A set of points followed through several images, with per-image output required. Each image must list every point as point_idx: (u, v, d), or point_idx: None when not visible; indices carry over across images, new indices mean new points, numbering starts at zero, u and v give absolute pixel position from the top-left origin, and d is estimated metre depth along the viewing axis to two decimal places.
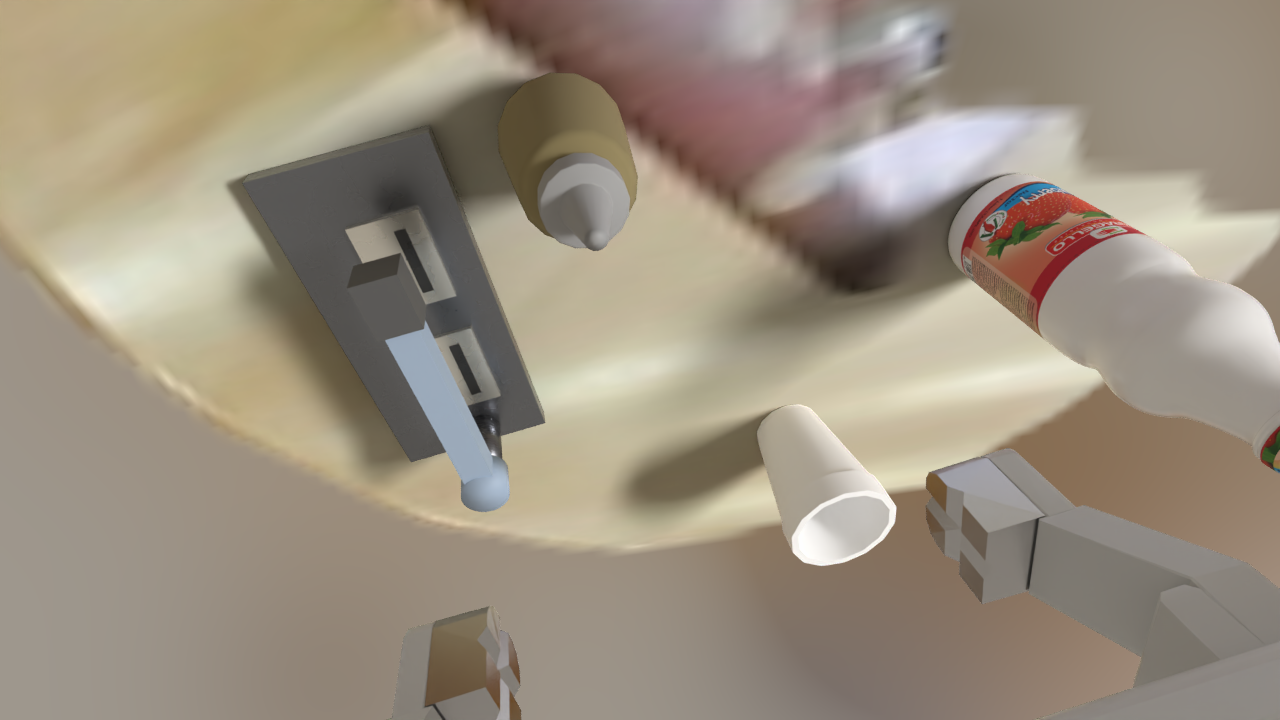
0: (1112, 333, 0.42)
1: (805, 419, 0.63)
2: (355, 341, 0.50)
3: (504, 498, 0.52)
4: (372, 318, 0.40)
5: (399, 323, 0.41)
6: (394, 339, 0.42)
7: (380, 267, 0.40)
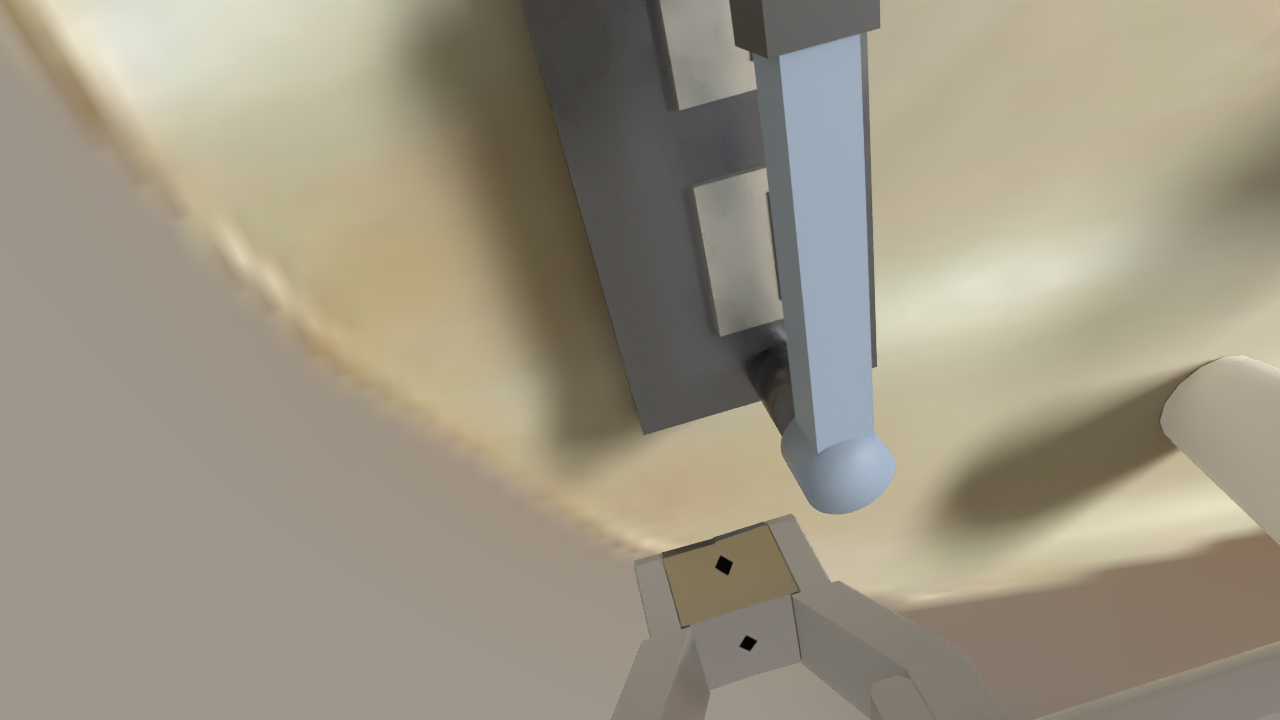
0: None
1: None
2: (601, 173, 0.26)
3: (881, 486, 0.26)
4: None
5: (833, 3, 0.17)
6: (800, 60, 0.17)
7: None
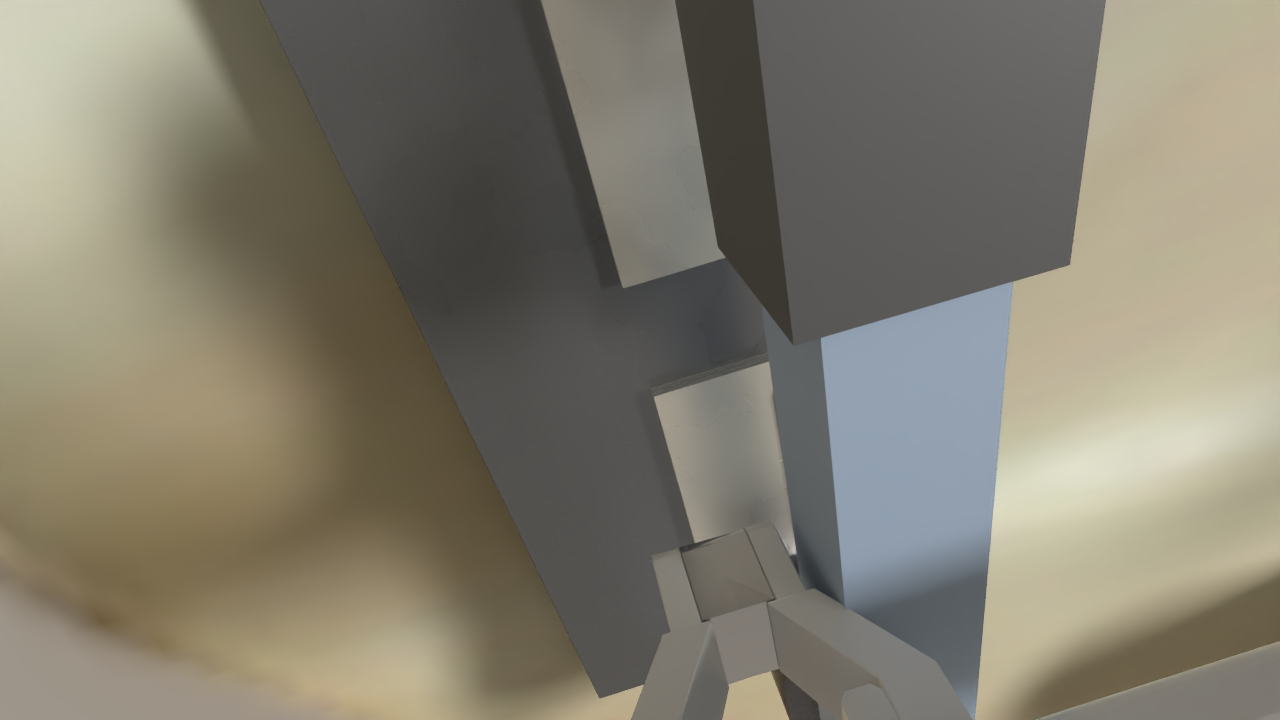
0: None
1: None
2: (499, 381, 0.16)
3: None
4: (826, 174, 0.06)
5: (963, 220, 0.06)
6: (869, 332, 0.07)
7: None
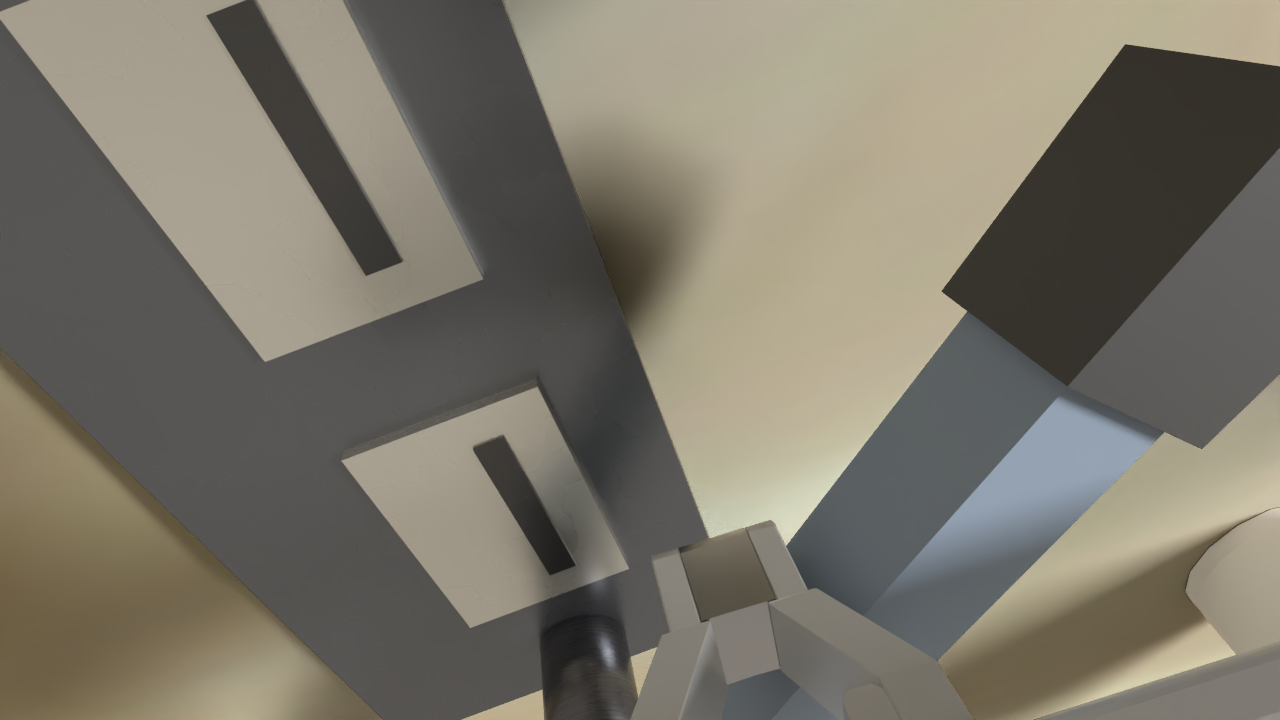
0: None
1: None
2: (176, 457, 0.16)
3: None
4: (1192, 286, 0.08)
5: (1200, 376, 0.09)
6: (1079, 413, 0.09)
7: None
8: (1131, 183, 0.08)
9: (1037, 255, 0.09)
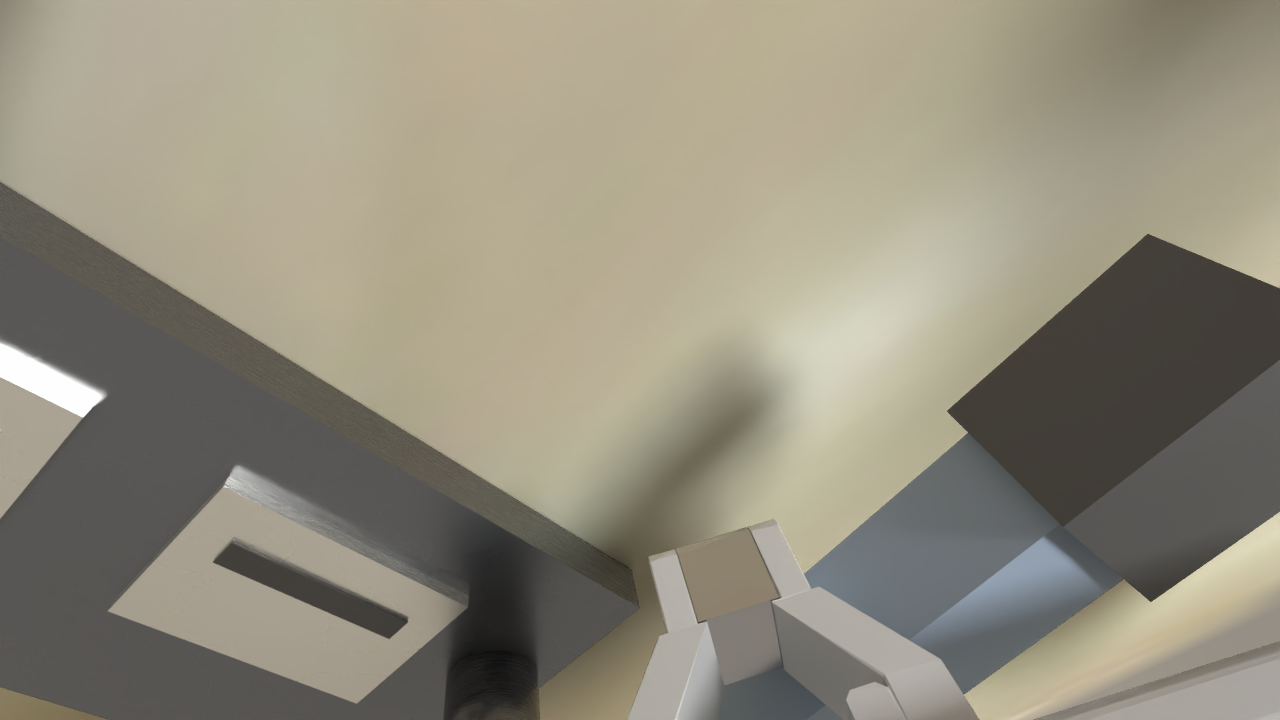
0: None
1: None
2: None
3: None
4: (1184, 460, 0.09)
5: (1168, 538, 0.10)
6: (1060, 551, 0.10)
7: None
8: (1142, 357, 0.09)
9: (1046, 400, 0.10)
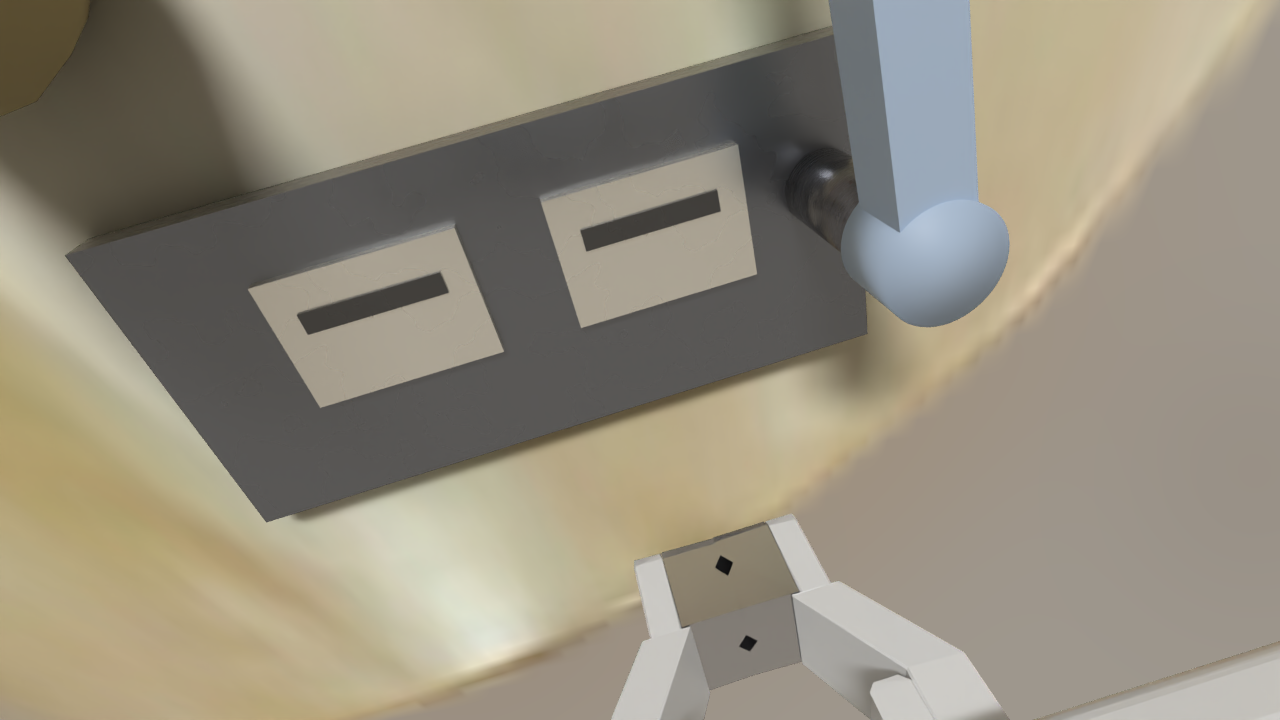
0: None
1: None
2: (568, 403, 0.27)
3: (990, 279, 0.19)
4: None
5: None
6: None
7: None
8: None
9: None
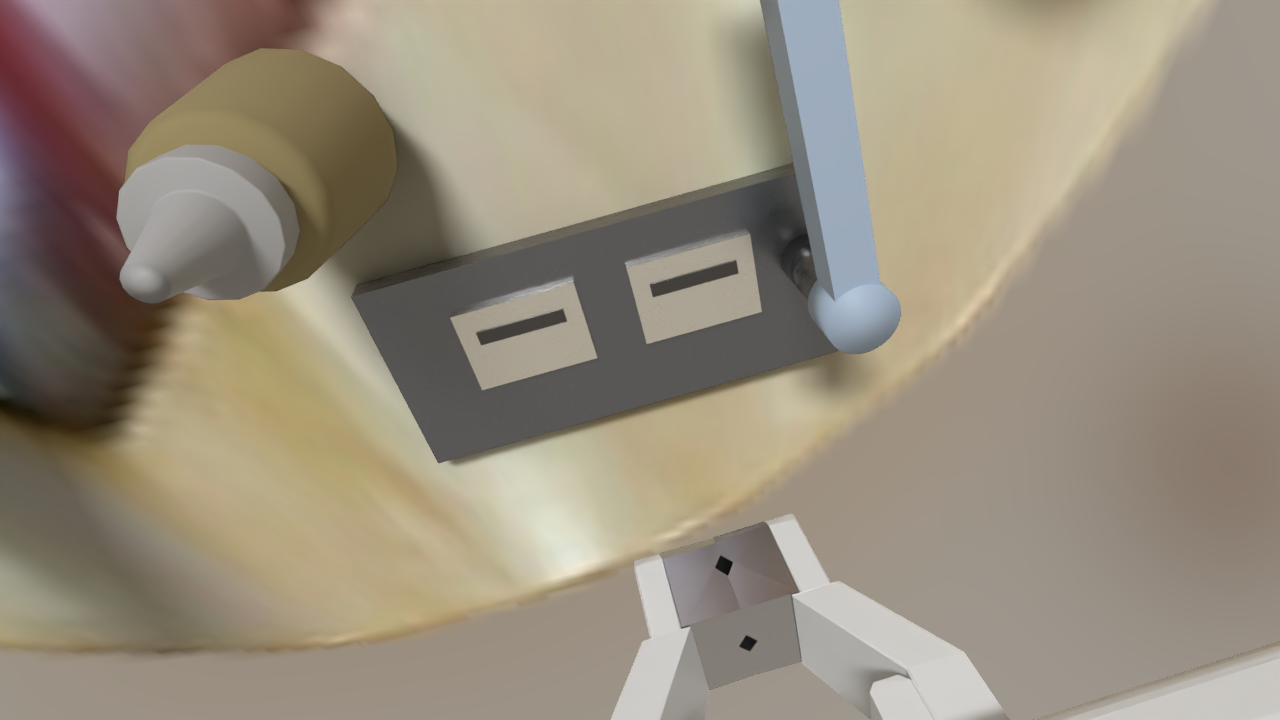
0: None
1: None
2: (635, 392, 0.41)
3: (891, 327, 0.32)
4: None
5: None
6: None
7: None
8: None
9: None
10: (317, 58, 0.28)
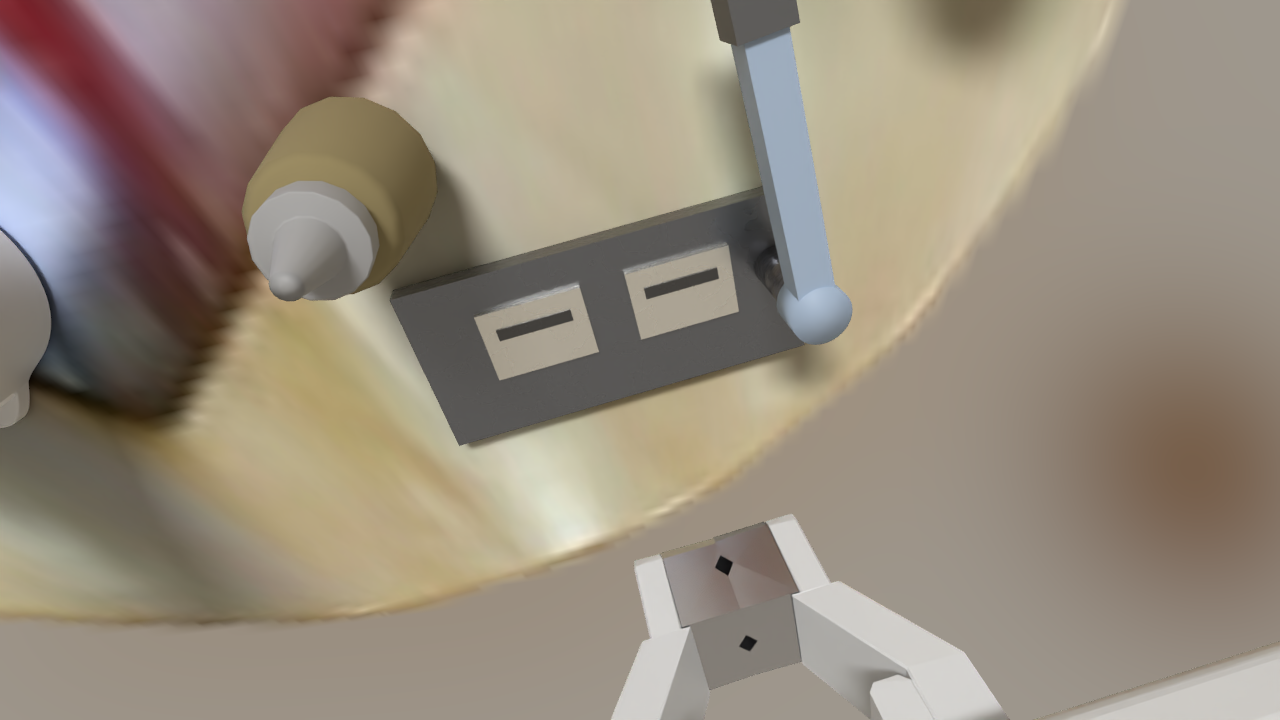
0: None
1: None
2: (631, 381, 0.48)
3: (844, 322, 0.39)
4: (739, 2, 0.29)
5: (771, 12, 0.30)
6: (756, 45, 0.31)
7: None
8: None
9: (720, 16, 0.31)
10: (376, 104, 0.34)
